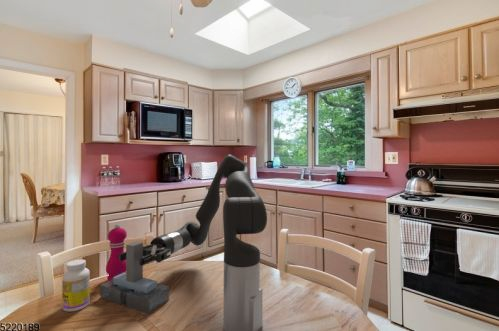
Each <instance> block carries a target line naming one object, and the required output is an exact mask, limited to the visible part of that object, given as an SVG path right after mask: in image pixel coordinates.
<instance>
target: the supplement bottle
mask: <svg viewBox="0 0 499 331" xmlns="http://www.w3.org/2000/svg"><path fill="white" fill-rule="evenodd" d="M86 266H87V262H86V259H74V260H72V261H69V262H67V263H66V270H67V271H65V272H64V273H63V274H62V279H61V281H62V290H61V292H62V296H61V297H62V299H61V301H62V302H61V304H62V310H63V311H64V312H76V311H80V310H82V309H85V308H86V307H87V306H88V305H89V304H90V301H91V299H90V298H91V297H90V295H91V286H90V285H91V284H90V283H91V282H90V281H91V280H90V278H91V277H90V276H91V274H90V272H91V270H89V269H88V268H87V267H86Z"/></svg>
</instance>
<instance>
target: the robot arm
mask: <svg viewBox="0 0 499 331" xmlns="http://www.w3.org/2000/svg"><path fill="white" fill-rule="evenodd" d="M223 178H225V179H226V180H225V184H224V185H225V186H224V187H225V194H226V196H227V198H226V199H224V201H223V208H222V221H223V246H224V247H223V307H222V308H223V311H222V312H223V319H222V320H223V331H260V329H261V328H262V326H263V299H264V298H263V297H264V296H263V290H264V289H263V288H260V287H261V286H260V284H261V283H260V282H261V280H260V279H261V252H260V249H259V248H258V246H256V245H254V244H251V243H247V242H244V240H243V241H242V240H241V239H239V237H237V236H238V235H255V234H260V233H262V232H264V230H265V229H266V228H267V225H268V224H267V223H268V213H267V209H266V205H265V203H264V201H263V199H262V197H261V196H260V195H259V193H258V192H257V191H256V189H255V186H254V183H253V181H252V178H251V176H250V172H249V165H248V164H247V163H246V162H245V161H243V160H241V159H239V158H237V156H235V155H233V154H227V155H225V157H224V158H222V160H221V162H220V164H219V166H218V169H217V170H216V173H215V175H214V177H213V179H212V180H211V181H212V182H211V184H210V186H209V188H208V191H207V193H206V195H205V197H204V200H202V203H201V205H200V206H199V208H198V210H197V211H196V213H195V218H196V220H197V221H198V223H199V224H198V223H196V222H195V221H188V222H186V223H185V224H184V225H183V226H182V227H181V228H178V229H177V230H175V231H170V232H168V233H164V234H161V235H159V236H157V237H154V238H152V240H151V242H150V243H147V244H145V245H144V244H143V257H142V258H140V265H141V266H143V267H144V266H145V265H147V264H149V263H155V262H156V263H161V262H163V261H165V260H167V259H168V258H171V255H173V254H175V253H178V251H180V250H182V249H184V248H186V247H189V245H190V244H191V243H192V244H193V245H194V246H196V247H197V246H201V245H202V244H204V242H205V241H206V240H207V237H208V234H209V230H210V226H211V224H212V221H213V219H214V218H215V216H216V214H217V212H218V210H219V209H220V206H221V205H220V204H221V203H220V202H221V194H220V191H221V190H220V186H221V182H222V179H223ZM123 260H126V251H124V253H121V254H119V261H123Z"/></svg>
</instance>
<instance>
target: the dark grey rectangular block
mask: <svg viewBox="0 0 499 331" xmlns="http://www.w3.org/2000/svg"><path fill="white" fill-rule="evenodd" d="M99 289H100V291H99V292H100V293H99V295H100V296H99V297H100V299H103V300H105V301H108V302H112V303H116V304H119V305H121V306H126V307H129V308H131V309H134V310H137V311H142V312H144V313H148V314H151V313H152V312H154V311H156V309H158V308H159V307H160V306H162V305H164V304H165V303H166V302H168V301H169V300H170V286H169V285H165V284H160V283H157V288H155V289H153V290H152V291H150V292H148V293H142V294H141V293H137V292H134V290H133V289H129V288H125V289H123V288H119V287H118V285H115V284H113V279H112V280H110V281H105V282H103V283H101V284H100V285H99Z"/></svg>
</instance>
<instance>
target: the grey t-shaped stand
mask: <svg viewBox="0 0 499 331" xmlns="http://www.w3.org/2000/svg"><path fill="white" fill-rule="evenodd" d="M125 245H126V248H125V252H126V273H122V274H120V275H117V276H115V277H113V284H115V285H118V287H119V288H123V289H125V288H129V289H133V290H134V292H137V293H141V294H142V293H148V292H150V291H152V290H153V289H155V288H157V284H158V283H157V282H158V281H157V280H154V279H152V278H148V277H143V276H144V272H143V271H144V265H143V266H141V265H140V258H142V257H143V246H144V244H143V242H141V241H136V240H135V241H132V242H130V243H127V244H125Z"/></svg>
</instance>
